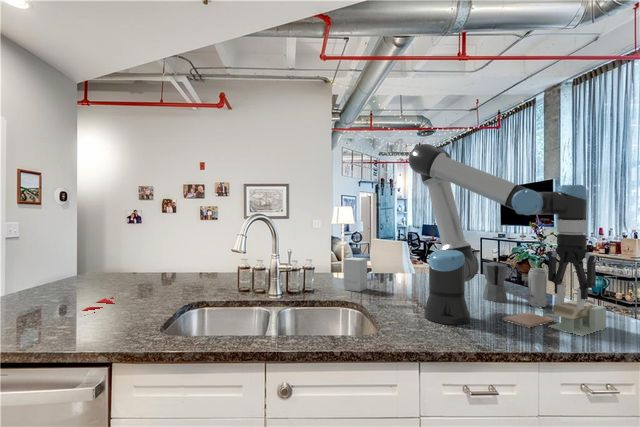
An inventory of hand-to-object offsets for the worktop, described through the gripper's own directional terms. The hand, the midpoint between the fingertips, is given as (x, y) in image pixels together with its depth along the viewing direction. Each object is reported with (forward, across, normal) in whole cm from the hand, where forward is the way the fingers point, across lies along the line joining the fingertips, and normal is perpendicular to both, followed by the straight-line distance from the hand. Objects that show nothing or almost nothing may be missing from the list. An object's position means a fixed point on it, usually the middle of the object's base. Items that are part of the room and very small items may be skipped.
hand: (570, 306), depth 109 cm
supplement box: (+8, +80, +28) cm, 85 cm away
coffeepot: (+8, +35, -12) cm, 38 cm away
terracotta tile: (+7, +11, +4) cm, 14 cm away
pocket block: (+7, 0, -2) cm, 8 cm away
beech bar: (+3, 0, -2) cm, 3 cm away
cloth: (+10, +100, +135) cm, 168 cm away
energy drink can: (+8, +21, -18) cm, 29 cm away
